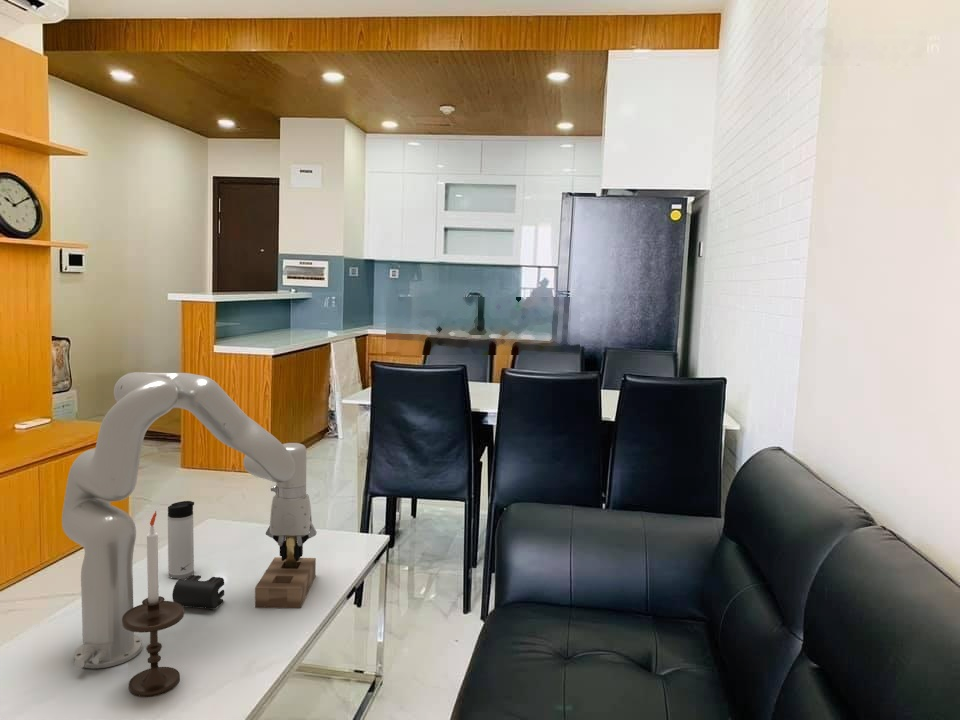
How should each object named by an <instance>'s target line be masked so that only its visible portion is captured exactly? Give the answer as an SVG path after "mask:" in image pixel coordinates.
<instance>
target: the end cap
mask: <svg viewBox="0 0 960 720" xmlns="http://www.w3.org/2000/svg"><path fill="white" fill-rule="evenodd" d="M201 578H202V575H199V574H198V575H197V574H196V575H195V574H193V575H190V576H189V577H187V578H183V579H177V581H176V582H175V584H174V586H173V590H172V602H176V603H179V604H181V605H182V606H183V607H185V606H187V608H196V609H197V608H198V609H209V610H216V609H217V608H219V607H220V606H221V604H223V603H224V599H223V598H222V597H224V596H225V589H221V588H222V587H223V586H224V585H225V579H224V578H223V577H220V576H218V577H217V576H211V577H210V578H209V579H207V580H200V579H201ZM220 589H221V591H219V590H220Z"/></svg>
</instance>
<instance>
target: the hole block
mask: <svg viewBox="0 0 960 720" xmlns="http://www.w3.org/2000/svg"><path fill="white" fill-rule="evenodd" d="M316 563H317V559H316V557H300V559H299V561H297V569H286V568H285V560H284V561H282V556H279V557H273V559H272V561H271V562H270V564H269V566H268V567H267V568H266V570H265V571H264V573H263V575H262V577H261V578H260V579H259V581H258V583H257V584H256V586H255V588H254V608H259V609H261V608H263V609H264V608H265V609H266V608H267V609H268V608H269V609H271V608H272V609H273V608H274V609H280V608H281V609H302V605H303V604H304V602H305V601H306V600H305V599H306V598H307V595H308V593H309V591H310V588H311V586H312V584H313V582H314V580H315V577H316V572H317V571H316V570H317V569H316V566H317V564H316Z"/></svg>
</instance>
